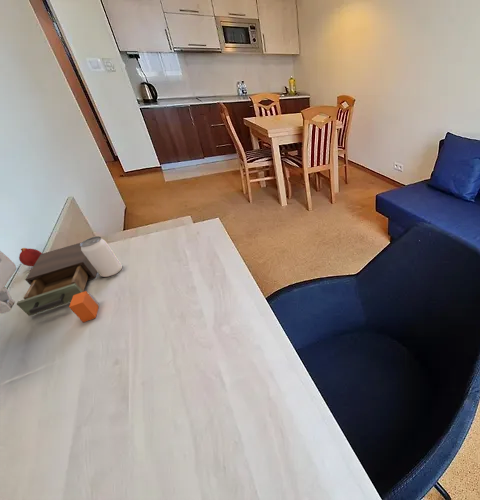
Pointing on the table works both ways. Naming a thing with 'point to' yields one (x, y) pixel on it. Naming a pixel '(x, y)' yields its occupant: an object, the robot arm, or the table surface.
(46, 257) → the cabinet
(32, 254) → the onion
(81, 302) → the orange wooden toy brick
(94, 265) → the can
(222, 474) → the table surface
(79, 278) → the drawer
